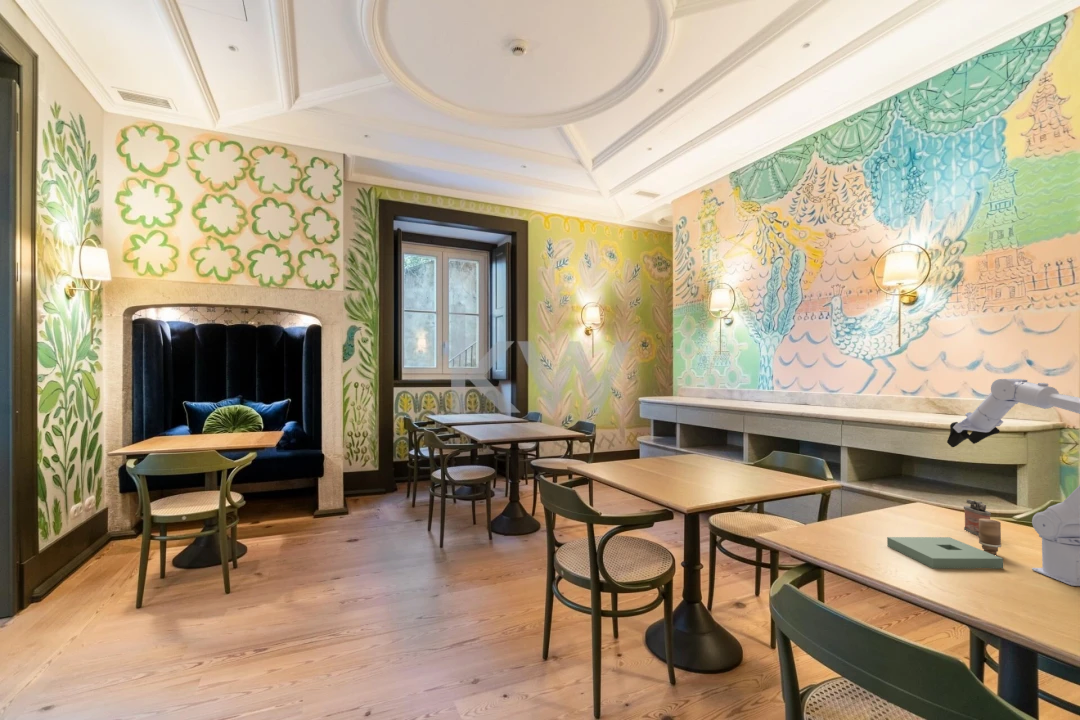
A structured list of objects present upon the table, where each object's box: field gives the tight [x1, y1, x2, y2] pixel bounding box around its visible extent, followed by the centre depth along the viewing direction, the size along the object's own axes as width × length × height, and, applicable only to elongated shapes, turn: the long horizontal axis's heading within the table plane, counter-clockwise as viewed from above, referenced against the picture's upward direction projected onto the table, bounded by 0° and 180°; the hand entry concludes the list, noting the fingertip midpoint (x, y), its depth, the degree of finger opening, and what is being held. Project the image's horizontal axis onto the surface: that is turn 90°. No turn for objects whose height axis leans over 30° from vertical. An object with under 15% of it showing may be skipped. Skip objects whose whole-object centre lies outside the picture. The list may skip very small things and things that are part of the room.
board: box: [886, 536, 1004, 570], centre depth 131 cm, size 16×18×2 cm
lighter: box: [963, 498, 992, 536], centre depth 151 cm, size 8×3×10 cm, turn 179°
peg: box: [978, 518, 1002, 556], centre depth 134 cm, size 4×4×9 cm
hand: (960, 442), depth 146 cm, fingers open, 7 cm apart
